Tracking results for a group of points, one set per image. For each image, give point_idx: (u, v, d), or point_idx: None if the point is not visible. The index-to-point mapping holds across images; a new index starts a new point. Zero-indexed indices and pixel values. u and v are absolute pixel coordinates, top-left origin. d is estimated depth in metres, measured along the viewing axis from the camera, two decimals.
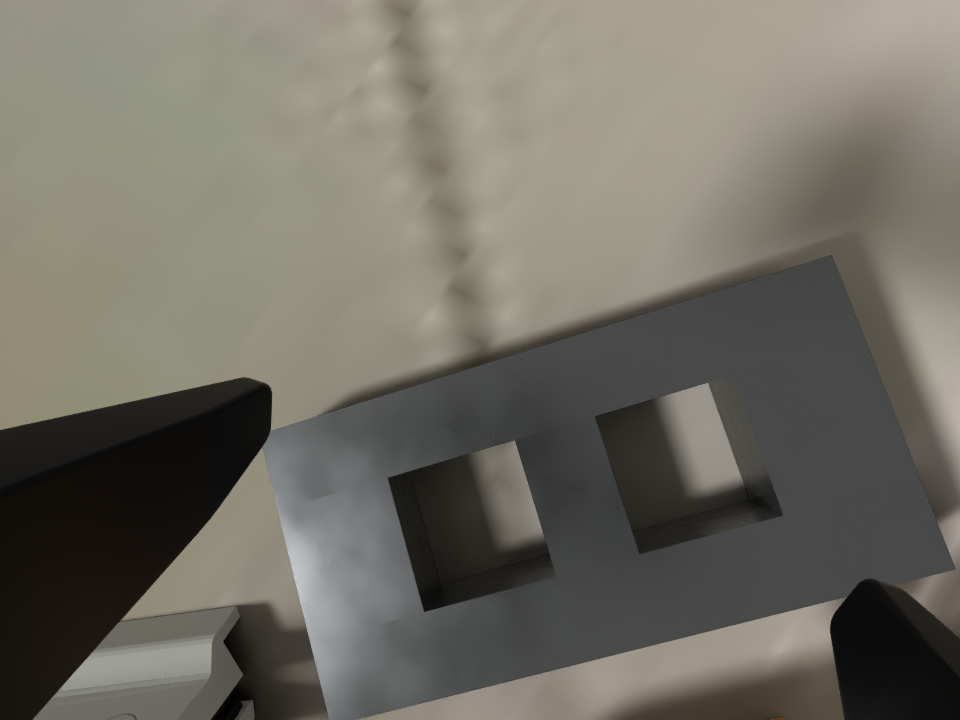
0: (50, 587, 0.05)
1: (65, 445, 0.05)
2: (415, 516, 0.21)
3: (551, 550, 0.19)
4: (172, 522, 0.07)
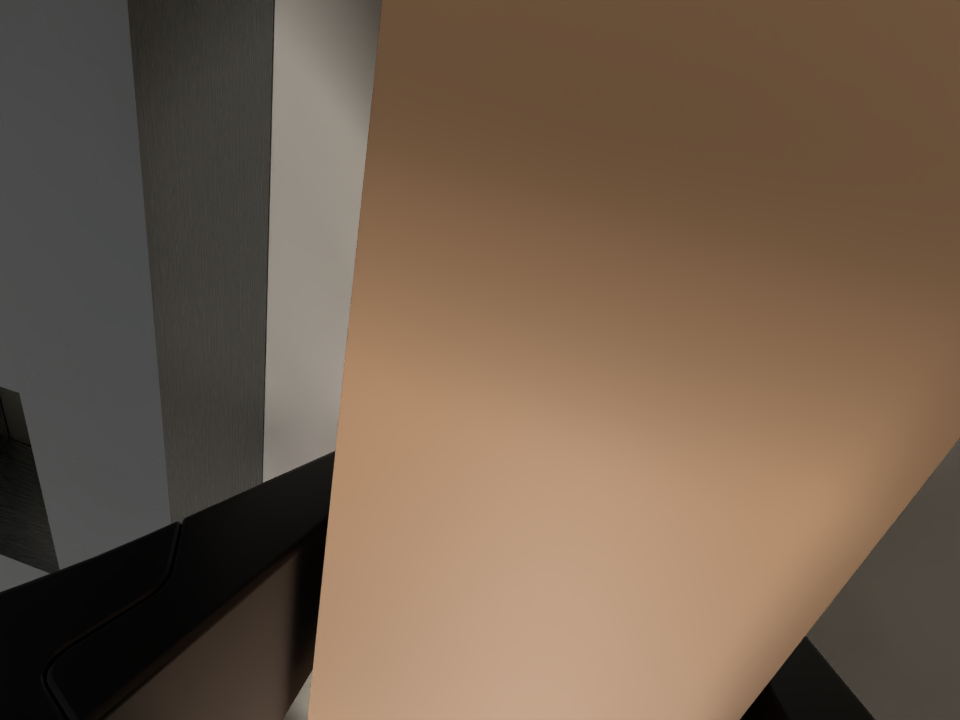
0: (265, 671, 0.05)
1: (280, 521, 0.05)
2: (37, 478, 0.14)
3: None
4: None
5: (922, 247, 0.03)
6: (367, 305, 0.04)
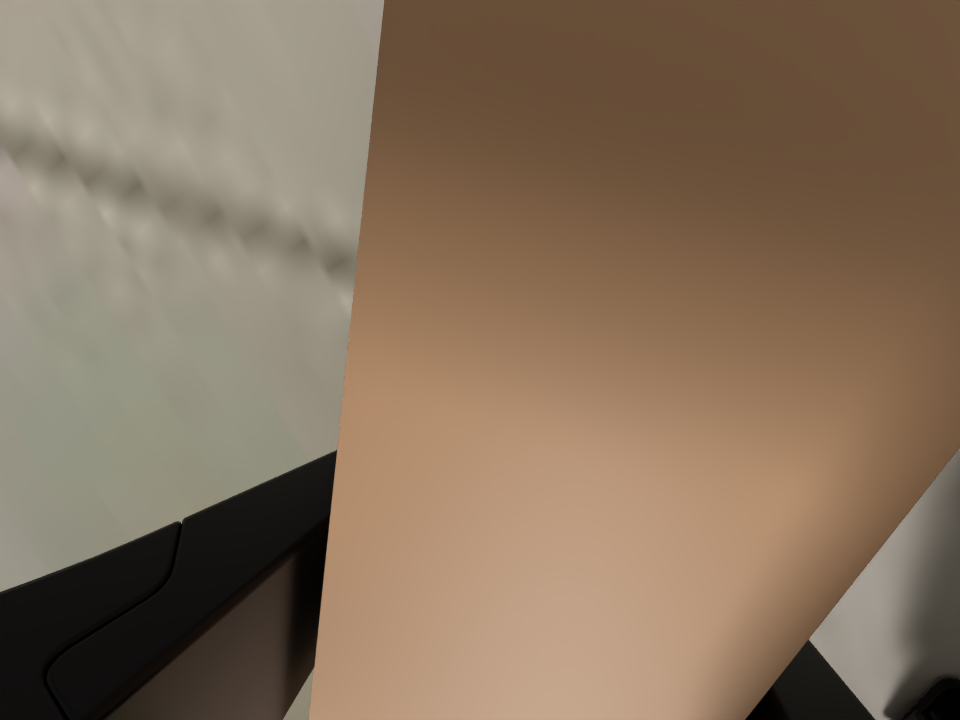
0: (265, 671, 0.05)
1: (281, 521, 0.05)
2: None
3: None
4: None
5: (935, 238, 0.03)
6: (370, 299, 0.04)
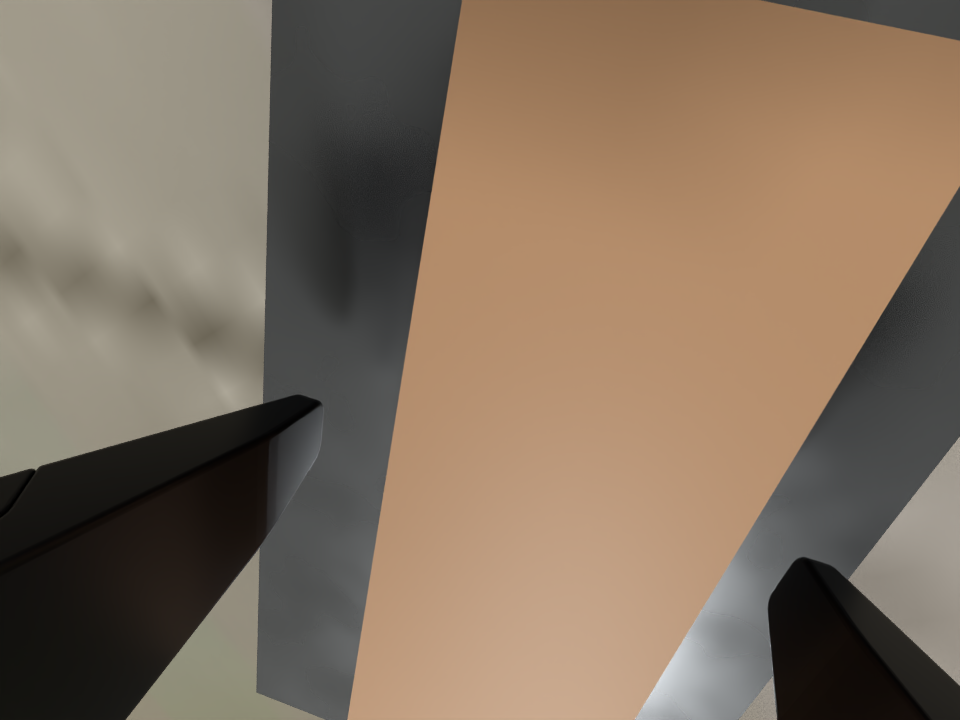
0: (125, 616, 0.05)
1: (140, 471, 0.05)
2: None
3: None
4: (233, 544, 0.07)
5: (830, 200, 0.04)
6: (434, 253, 0.05)
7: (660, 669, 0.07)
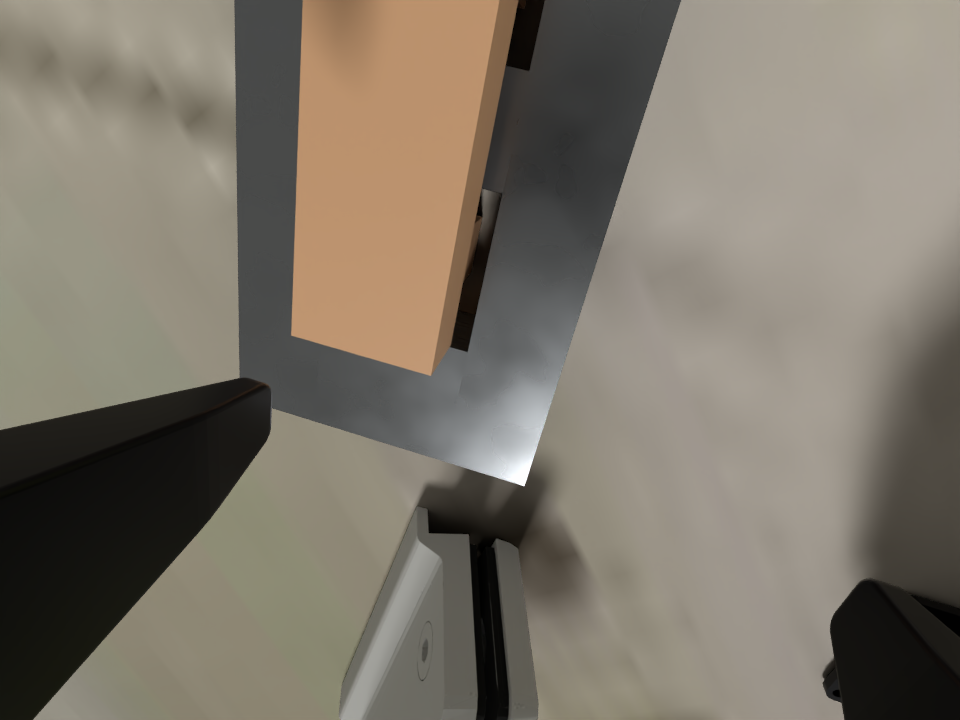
0: (50, 587, 0.05)
1: (65, 445, 0.05)
2: None
3: None
4: (172, 522, 0.07)
5: None
6: None
7: (464, 176, 0.11)
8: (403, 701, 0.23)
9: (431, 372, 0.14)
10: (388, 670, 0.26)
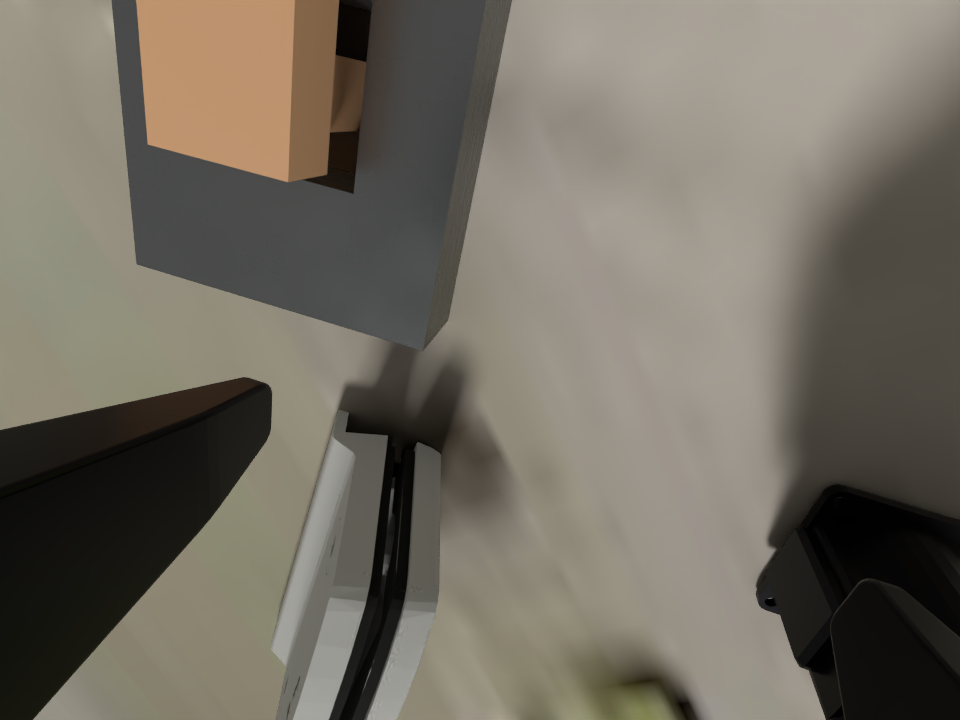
0: (50, 587, 0.05)
1: (65, 445, 0.05)
2: None
3: None
4: (172, 522, 0.07)
5: None
6: None
7: None
8: (314, 605, 0.22)
9: (288, 178, 0.13)
10: (312, 586, 0.25)
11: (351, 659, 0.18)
